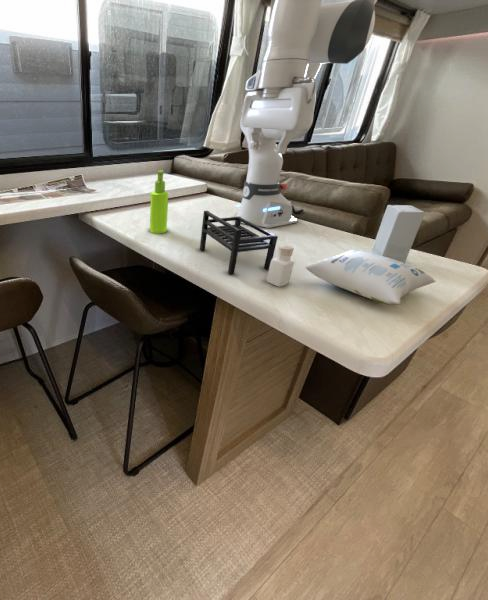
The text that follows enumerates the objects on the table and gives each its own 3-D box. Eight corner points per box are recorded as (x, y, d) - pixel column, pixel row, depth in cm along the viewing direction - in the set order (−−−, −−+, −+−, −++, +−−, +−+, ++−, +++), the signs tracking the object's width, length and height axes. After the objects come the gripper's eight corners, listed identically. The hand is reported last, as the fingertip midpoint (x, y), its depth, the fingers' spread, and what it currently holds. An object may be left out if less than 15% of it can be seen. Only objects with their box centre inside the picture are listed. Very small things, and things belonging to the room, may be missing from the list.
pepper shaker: (289, 283, 79) (299, 247, 75) (278, 288, 78) (288, 251, 73) (275, 277, 82) (284, 242, 78) (265, 281, 81) (273, 245, 76)
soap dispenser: (166, 227, 118) (169, 168, 107) (166, 233, 112) (169, 172, 102) (150, 226, 118) (151, 168, 108) (149, 233, 112) (151, 172, 102)
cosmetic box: (402, 268, 86) (428, 213, 79) (376, 265, 88) (399, 211, 80) (391, 256, 93) (414, 204, 85) (367, 254, 95) (387, 203, 87)
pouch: (446, 264, 70) (351, 235, 84) (407, 290, 61) (308, 253, 76) (428, 295, 74) (341, 262, 88) (388, 323, 66) (299, 282, 80)
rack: (234, 245, 101) (240, 207, 95) (270, 269, 87) (280, 226, 80) (199, 249, 99) (203, 210, 93) (229, 275, 84) (237, 230, 78)
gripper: (332, 75, 60) (310, 156, 67) (265, 83, 77) (253, 147, 84) (303, 73, 58) (284, 157, 65) (241, 82, 75) (231, 147, 82)
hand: (266, 151), depth 75 cm, fingers open, 8 cm apart
